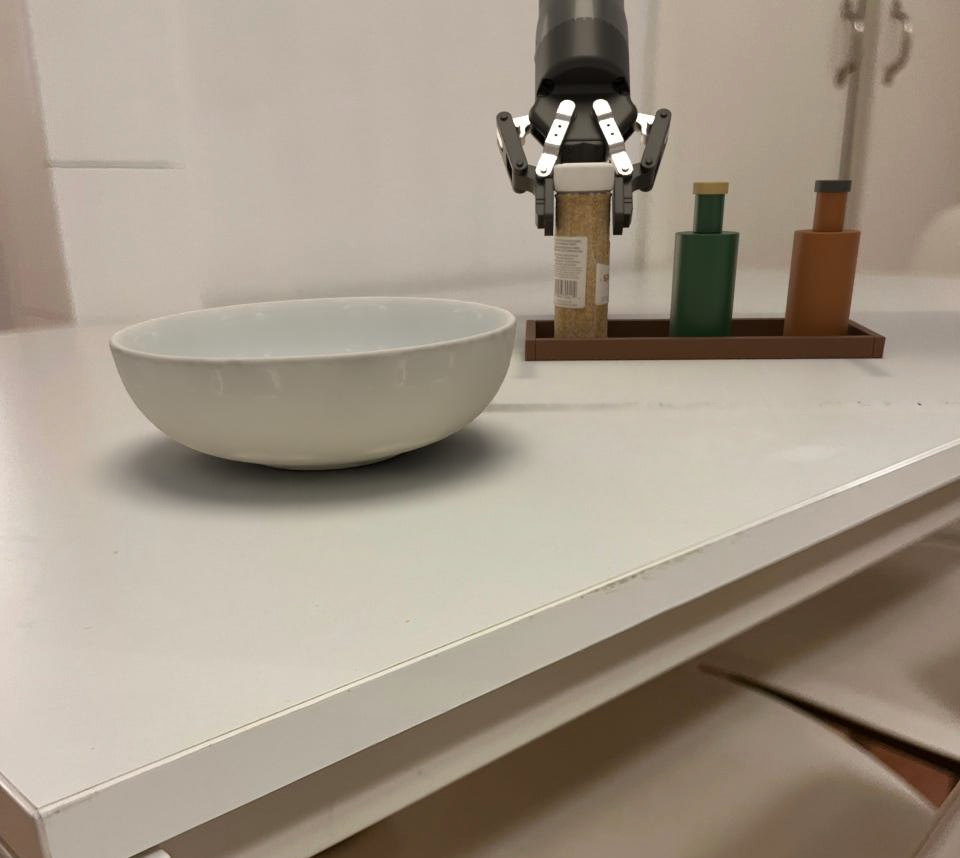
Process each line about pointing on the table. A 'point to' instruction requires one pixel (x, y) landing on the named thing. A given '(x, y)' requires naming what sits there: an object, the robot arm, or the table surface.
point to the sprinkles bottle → (582, 249)
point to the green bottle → (704, 269)
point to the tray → (699, 343)
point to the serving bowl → (316, 376)
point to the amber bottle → (823, 267)
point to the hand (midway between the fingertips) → (584, 227)
